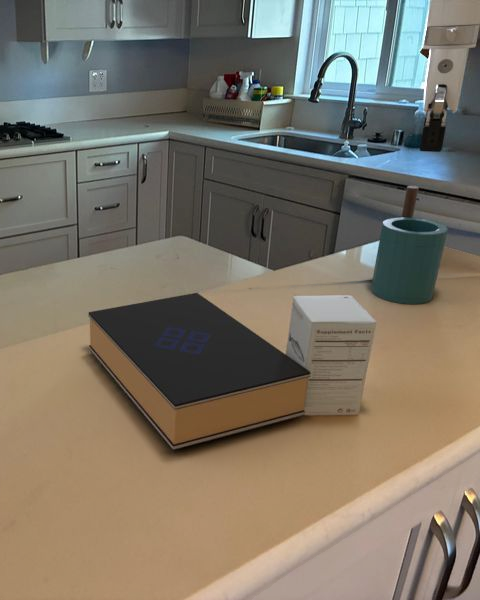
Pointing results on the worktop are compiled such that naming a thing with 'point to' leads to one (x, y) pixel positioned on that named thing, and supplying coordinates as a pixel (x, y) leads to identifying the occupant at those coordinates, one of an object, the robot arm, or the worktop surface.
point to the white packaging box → (331, 351)
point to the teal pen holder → (408, 260)
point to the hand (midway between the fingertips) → (430, 146)
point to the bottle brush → (410, 202)
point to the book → (196, 369)
